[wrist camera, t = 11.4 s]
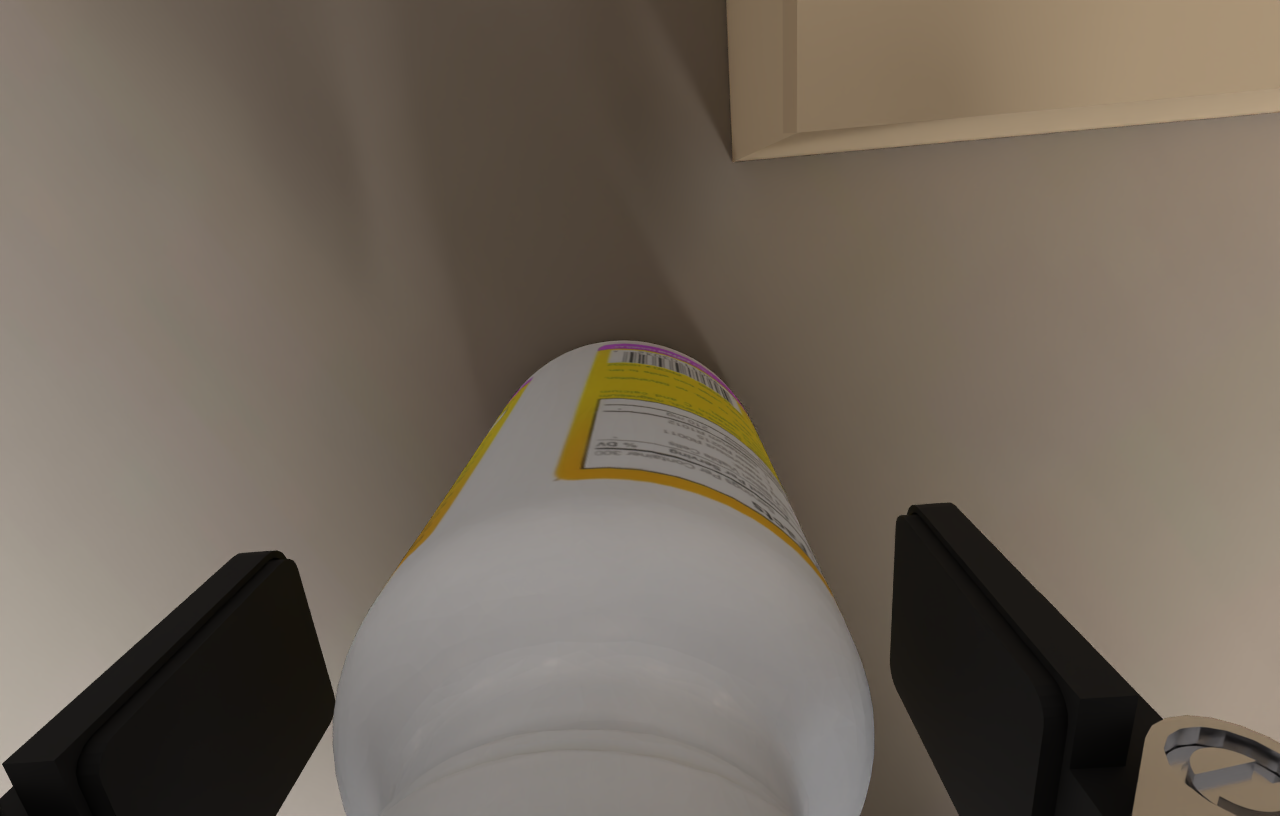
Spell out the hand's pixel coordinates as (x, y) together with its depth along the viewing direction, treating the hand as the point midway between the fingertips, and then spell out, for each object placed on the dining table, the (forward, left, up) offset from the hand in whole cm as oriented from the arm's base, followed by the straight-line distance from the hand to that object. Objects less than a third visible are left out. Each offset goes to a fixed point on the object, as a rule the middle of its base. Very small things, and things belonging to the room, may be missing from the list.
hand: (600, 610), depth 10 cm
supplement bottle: (0, 0, -7) cm, 7 cm away
